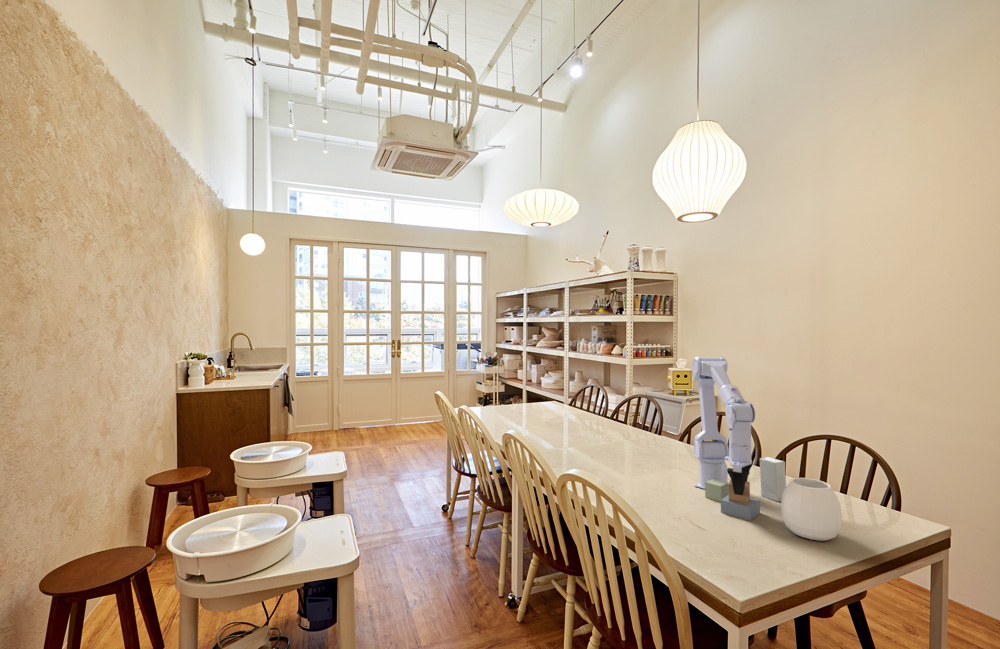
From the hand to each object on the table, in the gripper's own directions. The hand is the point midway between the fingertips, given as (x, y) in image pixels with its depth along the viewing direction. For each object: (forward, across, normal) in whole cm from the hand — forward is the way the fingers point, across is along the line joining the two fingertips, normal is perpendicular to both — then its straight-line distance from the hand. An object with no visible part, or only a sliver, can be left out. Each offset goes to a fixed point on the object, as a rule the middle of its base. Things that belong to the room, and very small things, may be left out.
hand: (740, 490), depth 136 cm
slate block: (+7, 0, 0) cm, 7 cm away
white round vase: (+7, +6, +17) cm, 19 cm away
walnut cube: (+3, 0, 0) cm, 3 cm away
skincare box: (+7, -19, +7) cm, 21 cm away
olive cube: (+6, -9, -8) cm, 13 cm away
